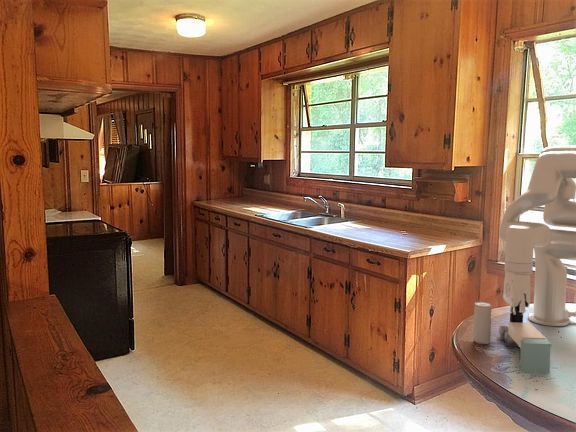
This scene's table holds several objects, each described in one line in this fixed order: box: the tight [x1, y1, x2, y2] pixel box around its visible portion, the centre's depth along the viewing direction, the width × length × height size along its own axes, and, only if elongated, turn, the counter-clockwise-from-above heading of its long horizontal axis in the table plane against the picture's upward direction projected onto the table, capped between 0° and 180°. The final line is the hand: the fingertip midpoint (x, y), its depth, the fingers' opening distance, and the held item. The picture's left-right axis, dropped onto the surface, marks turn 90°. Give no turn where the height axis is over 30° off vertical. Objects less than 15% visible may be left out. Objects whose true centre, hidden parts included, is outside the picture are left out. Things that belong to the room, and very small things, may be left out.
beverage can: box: [473, 301, 492, 345], centre depth 148 cm, size 5×5×12 cm
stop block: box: [519, 339, 552, 374], centre depth 128 cm, size 6×3×8 cm, turn 83°
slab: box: [507, 321, 547, 349], centre depth 138 cm, size 6×12×4 cm, turn 173°
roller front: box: [504, 332, 519, 347], centre depth 145 cm, size 6×4×4 cm, turn 83°
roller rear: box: [498, 325, 508, 340], centre depth 150 cm, size 6×4×4 cm, turn 83°
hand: (516, 326), depth 145 cm, fingers closed
